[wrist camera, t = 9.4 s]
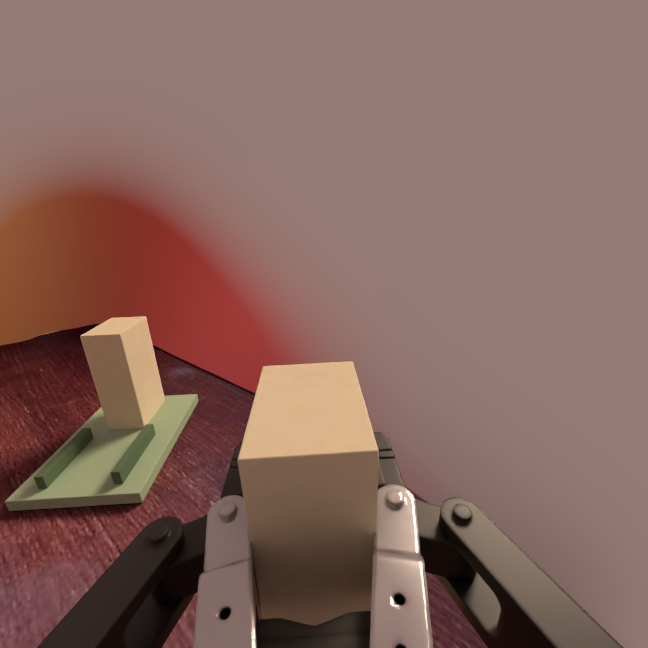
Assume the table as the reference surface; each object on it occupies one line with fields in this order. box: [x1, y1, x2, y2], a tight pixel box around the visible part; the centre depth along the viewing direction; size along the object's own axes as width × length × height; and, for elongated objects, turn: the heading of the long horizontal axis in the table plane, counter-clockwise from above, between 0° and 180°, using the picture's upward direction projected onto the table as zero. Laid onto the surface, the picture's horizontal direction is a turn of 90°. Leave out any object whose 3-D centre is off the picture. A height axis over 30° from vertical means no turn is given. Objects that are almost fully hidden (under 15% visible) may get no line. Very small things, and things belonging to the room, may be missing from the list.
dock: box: [5, 316, 198, 511], centre depth 30 cm, size 10×14×11 cm
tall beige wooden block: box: [237, 361, 379, 626], centre depth 12 cm, size 4×5×10 cm
